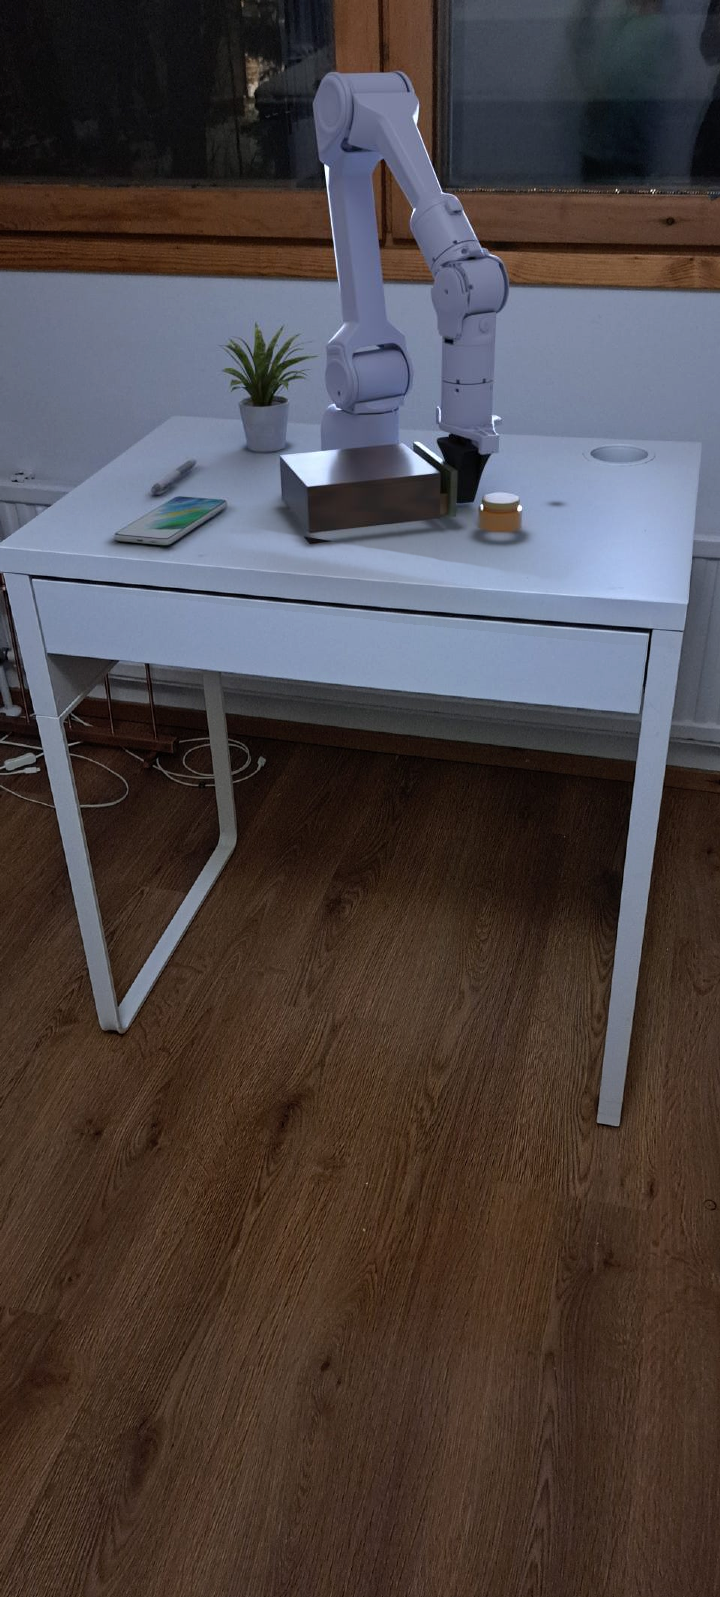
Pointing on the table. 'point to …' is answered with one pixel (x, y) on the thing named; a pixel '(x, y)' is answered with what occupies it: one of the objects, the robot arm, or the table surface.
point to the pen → (172, 477)
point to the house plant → (264, 391)
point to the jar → (500, 512)
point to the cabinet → (359, 488)
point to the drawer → (447, 479)
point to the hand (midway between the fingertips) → (463, 501)
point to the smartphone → (171, 520)
